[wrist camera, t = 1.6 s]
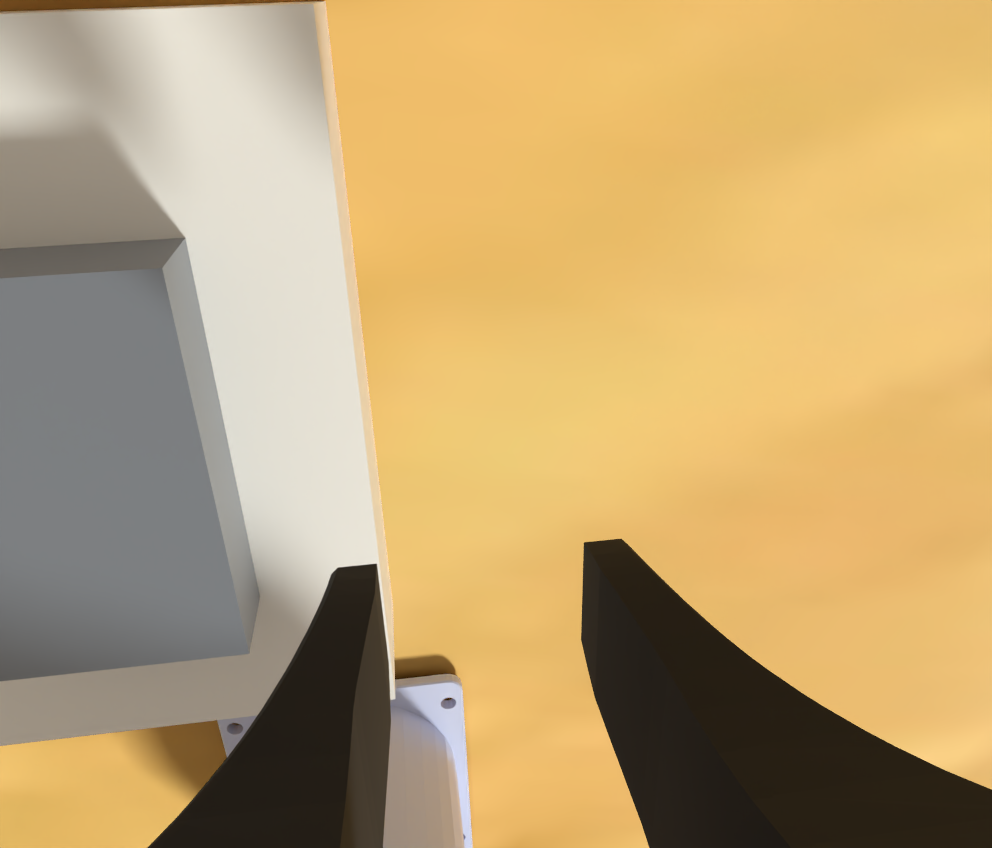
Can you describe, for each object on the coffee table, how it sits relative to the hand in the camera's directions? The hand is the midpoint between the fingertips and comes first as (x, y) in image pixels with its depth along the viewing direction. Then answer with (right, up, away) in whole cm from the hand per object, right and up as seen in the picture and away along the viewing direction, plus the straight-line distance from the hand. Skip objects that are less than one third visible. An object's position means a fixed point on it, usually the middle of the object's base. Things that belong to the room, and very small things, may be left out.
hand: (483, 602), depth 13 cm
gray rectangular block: (-9, +2, +5) cm, 10 cm away
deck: (-9, +4, +8) cm, 13 cm away
